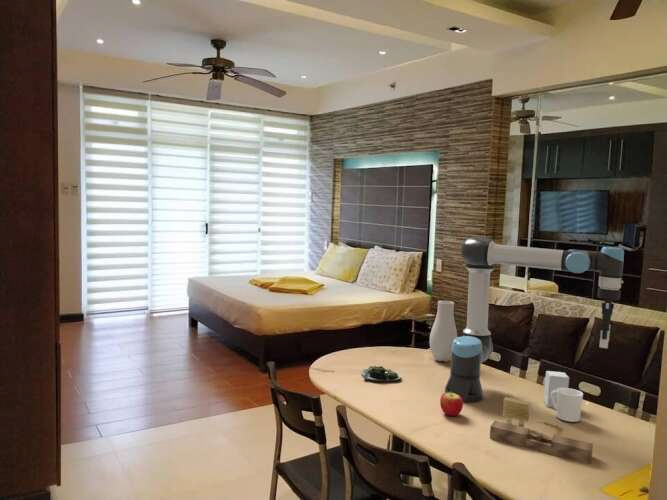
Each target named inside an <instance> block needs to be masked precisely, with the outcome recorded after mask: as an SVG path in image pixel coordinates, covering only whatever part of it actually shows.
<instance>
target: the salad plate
mask: <svg viewBox="0 0 667 500" xmlns="http://www.w3.org/2000/svg"><path fill="white" fill-rule="evenodd" d="M385 372H388V373H385ZM361 375H362V376H363V379H365V380H366V381H369V382H371V383H377V384H390V383H389V382H394V383H397V381H398V382H400V381H401V380H402V375H401V374H399V373H398V372H397V371H395V370H394V369H392V368H385V367H384V366H381V365H380V366H379V365H378V366H377V365H373V366H372V365H370V366H368V368H366V369H362V370H361Z"/></svg>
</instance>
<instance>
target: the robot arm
mask: <svg viewBox="0 0 667 500" xmlns="http://www.w3.org/2000/svg"><path fill="white" fill-rule="evenodd" d="M459 254H460V257H461V258H462V260H463V262H465V269H466V270H467V271H468V292H467V310H466V311H467V312H466V313H467V314H466V327H465V328H464V329H463V330H462V336H457V338H455V339H454V340H453V344H452V356H451V360H450V373H449V374H450V375H449V377H448V380H447V382H446V384H445V387H444V393H455V394H457V395H459V396H460V397H461V398H462V400H463V403H464V402H465V403H476V402H477V403H478V402H480V401H482V400H483V398H484V391H483V388H482V383H481V380H480V377H481V367H482V366H481V365H482V364H483V363H484V362H486V361H487V360H488V359H490V357H491V356H492V353H493V351H494V346H493V342H492V333H491V330H489V329H488V325H489V307H490V306H489V305H490V304H489V303H490V282H491V273H492V272H493V271H494V270H495V264H497V265H504V266H505V265H507V266H515V267H527V268H535V269H536V268H537V269H545V270H555V271H563V272H570V273H573V274H582V273H585V271H591V272H592V271H593V272H599V276H598V285H597V286H598V289H597V298H599V299H600V300H601V299H602V300H604V302H602V303H601V315H602V318H601V325H600V326H599V327H598V330H599V331H600V336H599V337H600V338H599V348H601V349H608V348H609V342H610V335H611V333H610V332H611V325H613V321H612V320H611V318H612V315H613V310H614V309H615V304H614V303H613V301H620V299H621V290H620V289H621V288H622V284H624V280H622V279H623V271H624V263H625V262H624V261H625V260H624V257H625V250H624V249H623V248H621V247H616V246H615V247H614V246H603V247H602V248H601V250H600V251H593V250H583V249H582V250H581V249H568V250H563V249H553V248H540V247H531V246H522V245H521V246H520V245H519V246H517V245H510V244H509V245H508V244H506V245H505V244H498V243H496V242H495V241H494V240H493V239H491V238H490V237H487V236H482V235H481V236H480V235H479V236H472V237H469V238H466V239H465V240H464V241H463V242H462V244H461V246H460V251H459ZM448 387H449V388H450V389H449V388H448ZM450 390H451V391H450Z"/></svg>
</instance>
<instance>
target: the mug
mask: <svg viewBox="0 0 667 500" xmlns="http://www.w3.org/2000/svg"><path fill="white" fill-rule="evenodd" d="M555 392H557V406H556V404H555V401H554V397H553V393H555ZM551 398H552V402H553V405H554V408H553V409H554V410H555V411H556V412H555V417H556V419H558V420H559V421H561V422H564V423H568V424H577V423H580V420H581V413H582V405H583V404H582V403H583V398H584V393H583V392H582V391H580V390H577V389H574V388H569V387H568V388H558V389H557V391H552V392H551Z"/></svg>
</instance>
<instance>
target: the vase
mask: <svg viewBox="0 0 667 500" xmlns="http://www.w3.org/2000/svg"><path fill="white" fill-rule="evenodd" d="M454 307H455V302H454V301H450V300H438V301H437V313H436V316H435V319H434V322H433V324H432V327H431V331H430V334H429V348H430V353H431V354H432V357H433V358H434V359H435V360H436V361H438V362H441V361H444V362H443V363H446V362H445V361H447V362H450V361H451V356H452V344H453V340H454V339H455V338H457V337H458V331H457V327H456V321H455V315H454V309H455V308H454Z"/></svg>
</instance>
